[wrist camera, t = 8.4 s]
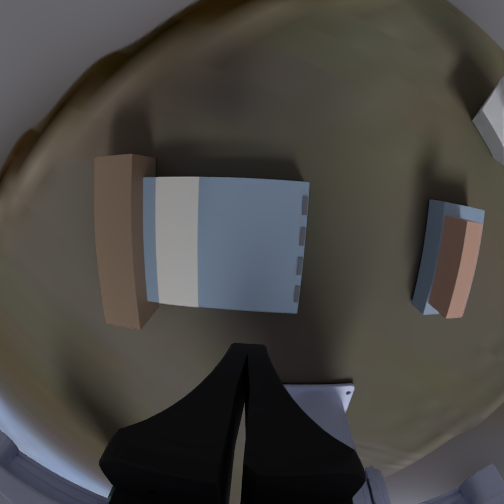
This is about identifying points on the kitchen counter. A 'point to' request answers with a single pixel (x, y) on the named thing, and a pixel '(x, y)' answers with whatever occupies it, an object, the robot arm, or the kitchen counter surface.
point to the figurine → (493, 122)
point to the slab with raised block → (448, 258)
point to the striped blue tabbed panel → (195, 240)
